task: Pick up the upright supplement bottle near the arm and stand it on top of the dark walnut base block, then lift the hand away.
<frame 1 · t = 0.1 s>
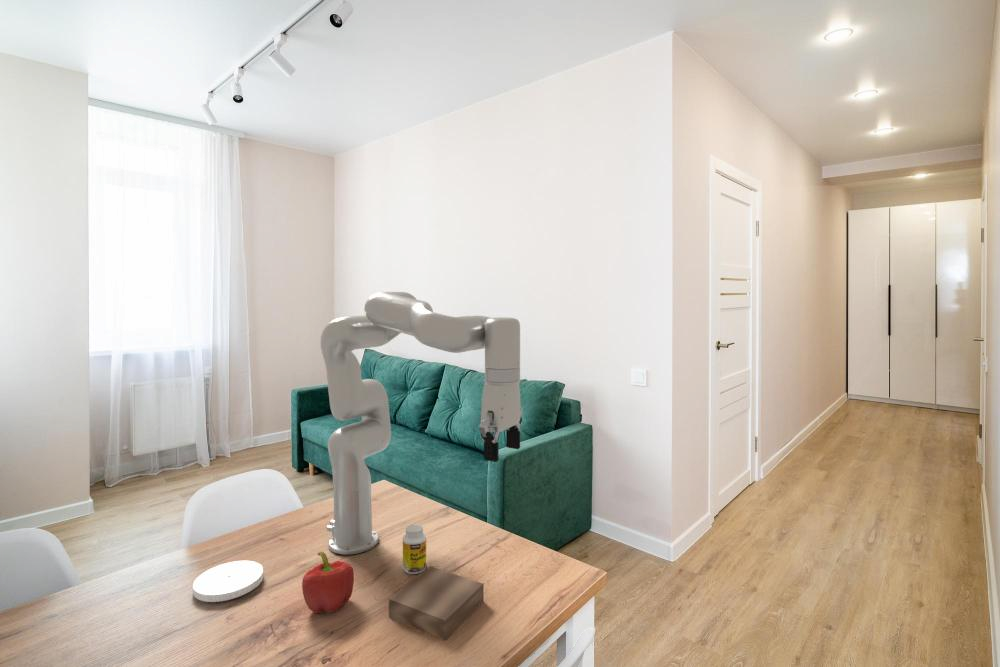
hand: (502, 454, 109), 31 cm above the table, tool pointing down, fingers open, 9 cm apart
vegetable: (328, 606, 107), on the table
walnut base: (437, 609, 106), on the table
supplement bottle: (414, 569, 121), on the table
plastic lid: (229, 588, 114), on the table
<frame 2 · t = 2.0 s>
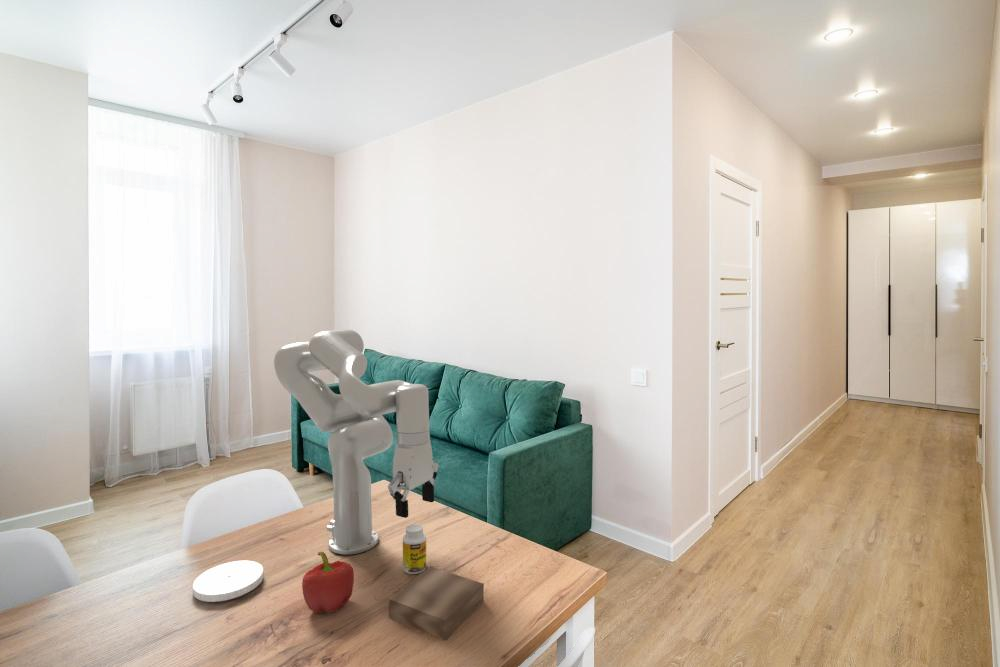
hand: (415, 508, 120), 15 cm above the table, tool pointing down, fingers open, 9 cm apart
nothing on the table moved.
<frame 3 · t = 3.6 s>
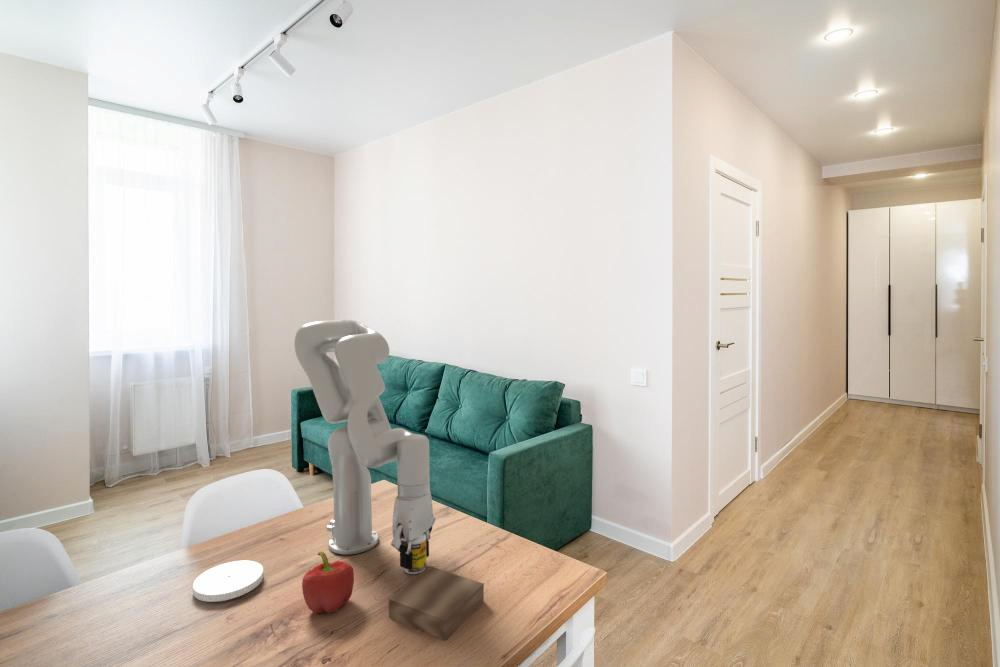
hand: (414, 560, 121), 2 cm above the table, tool pointing down, fingers closed on supplement bottle, 5 cm apart
supplement bottle: (414, 569, 121), on the table, touching gripper
everything else where it was.
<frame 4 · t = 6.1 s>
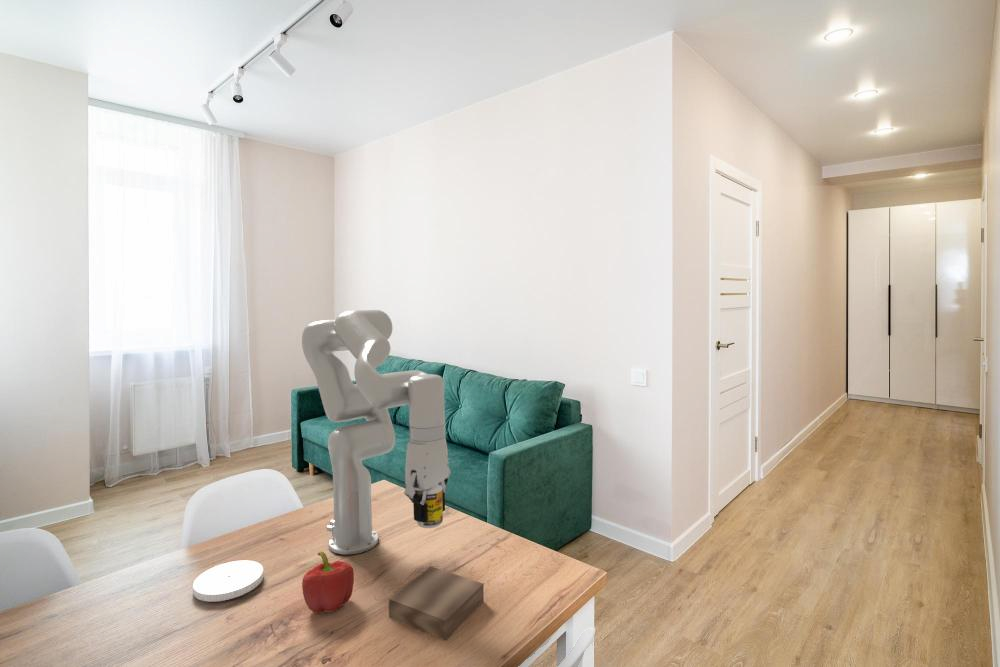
hand: (429, 514, 109), 18 cm above the table, tool pointing down, fingers closed on supplement bottle, 5 cm apart
supplement bottle: (430, 524, 109), point 16 cm above the table, touching gripper
everything else where it was.
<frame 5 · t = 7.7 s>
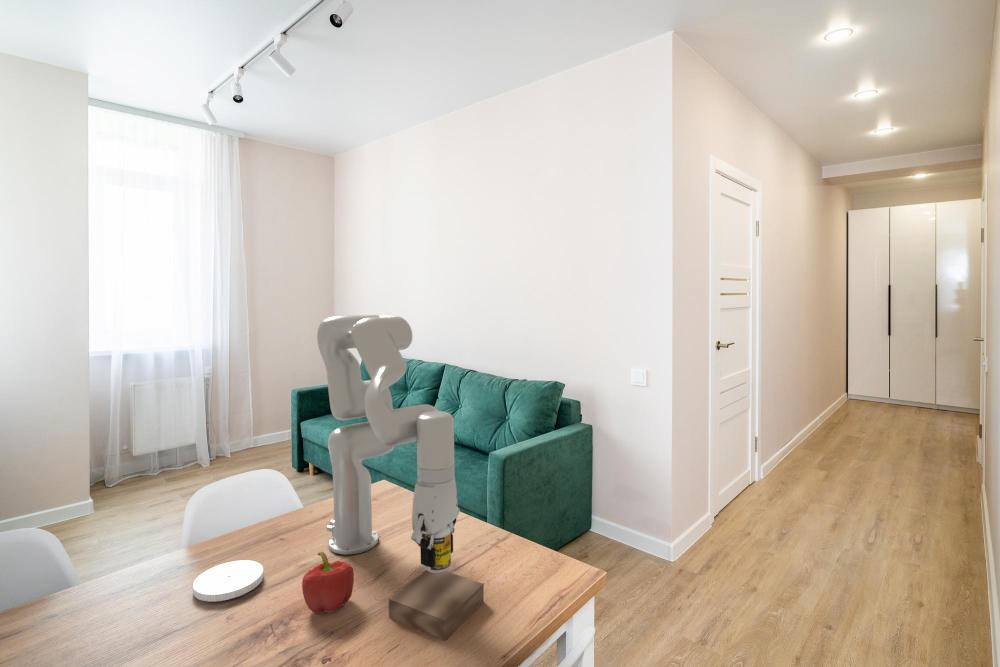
hand: (437, 557, 105), 11 cm above the table, tool pointing down, fingers closed on supplement bottle, 5 cm apart
supplement bottle: (437, 567, 105), point 9 cm above the table, touching gripper
everything else where it was.
when the fingers open (7 cm above the table, at t = 8.8 s): supplement bottle drops 1 cm, resting on walnut base.
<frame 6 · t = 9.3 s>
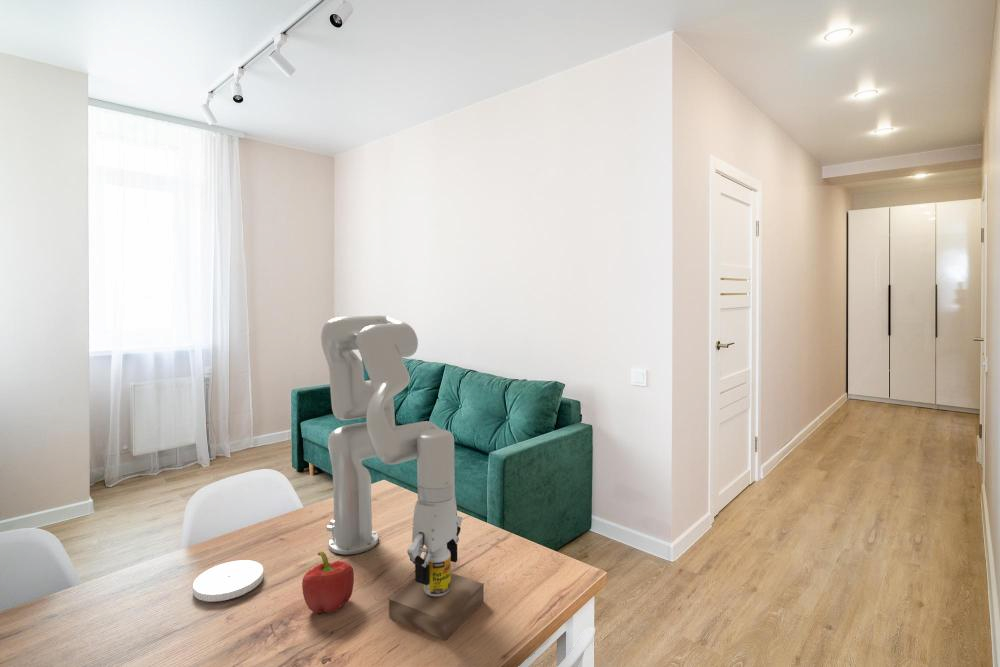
hand: (437, 571, 105), 8 cm above the table, tool pointing down, fingers open, 9 cm apart
supplement bottle: (437, 591, 106), point 4 cm above the table, touching walnut base
everything else where it was.
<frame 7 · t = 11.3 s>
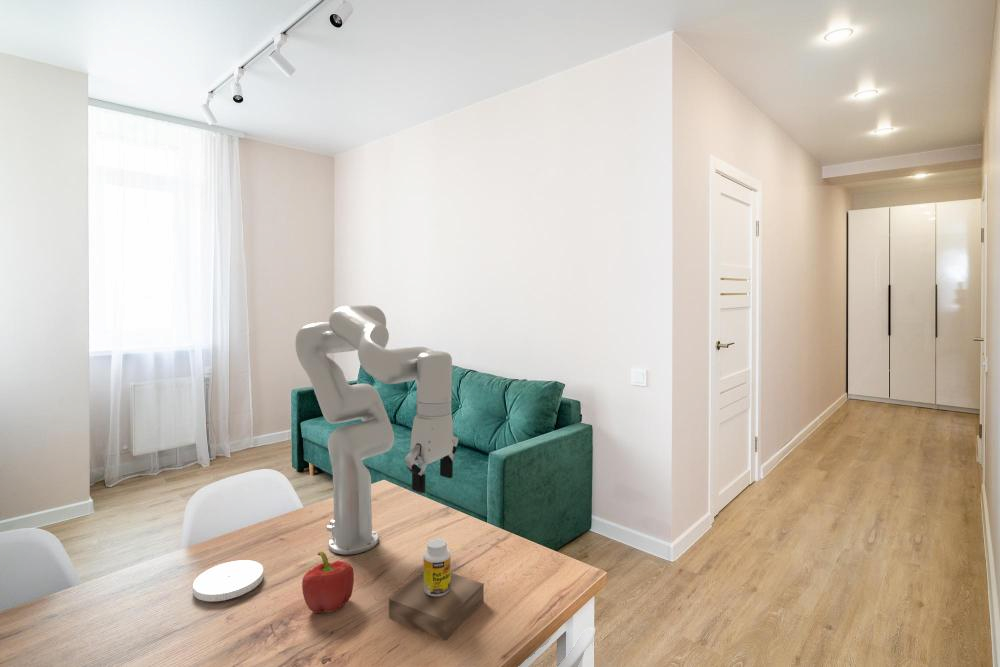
hand: (432, 483, 112), 24 cm above the table, tool pointing down, fingers open, 9 cm apart
nothing on the table moved.
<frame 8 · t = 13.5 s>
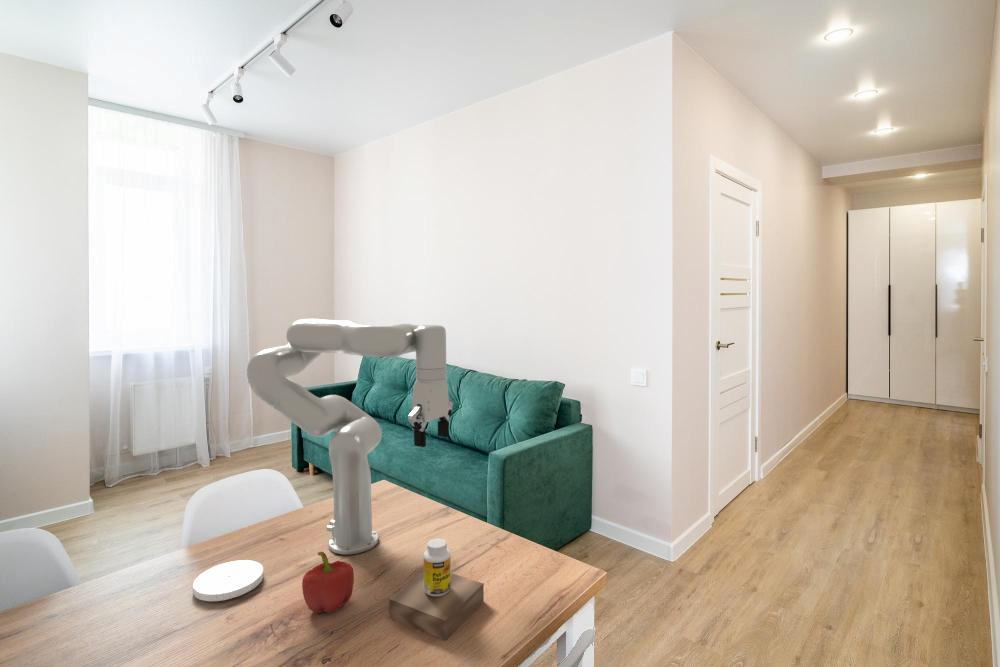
hand: (432, 441, 129), 28 cm above the table, tool pointing down, fingers open, 9 cm apart
nothing on the table moved.
at the end: supplement bottle inside the target area on the walnut base (0.3 cm from its centre), point 3.8 cm above the walnut base's base; supplement bottle tilted 0°; the gripper is holding nothing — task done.
